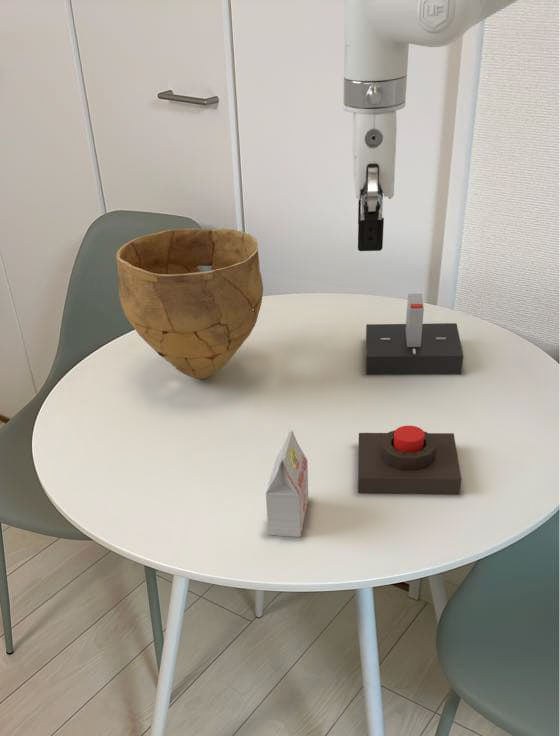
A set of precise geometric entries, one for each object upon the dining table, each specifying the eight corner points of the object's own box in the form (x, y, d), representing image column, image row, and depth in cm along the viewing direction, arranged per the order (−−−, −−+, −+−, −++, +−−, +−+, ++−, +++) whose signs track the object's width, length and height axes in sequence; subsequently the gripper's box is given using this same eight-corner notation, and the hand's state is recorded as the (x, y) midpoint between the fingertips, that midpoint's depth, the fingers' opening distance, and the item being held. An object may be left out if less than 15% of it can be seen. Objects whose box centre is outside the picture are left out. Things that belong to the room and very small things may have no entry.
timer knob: (405, 331, 117) (408, 292, 113) (418, 330, 116) (421, 291, 112) (407, 347, 113) (409, 307, 109) (420, 347, 112) (424, 307, 108)
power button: (422, 437, 93) (423, 425, 92) (424, 453, 90) (425, 441, 89) (393, 437, 93) (393, 425, 92) (393, 453, 91) (394, 441, 90)
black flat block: (454, 340, 120) (456, 322, 118) (461, 374, 112) (463, 354, 109) (365, 341, 122) (366, 323, 119) (365, 374, 113) (366, 355, 111)
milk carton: (268, 534, 86) (263, 462, 80) (278, 499, 91) (274, 428, 85) (300, 537, 86) (298, 464, 79) (308, 501, 91) (306, 430, 84)
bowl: (116, 368, 120) (91, 241, 107) (229, 335, 126) (218, 211, 113) (168, 426, 105) (146, 287, 93) (293, 385, 112) (288, 250, 99)
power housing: (451, 447, 97) (455, 420, 95) (459, 494, 90) (463, 466, 87) (358, 446, 99) (359, 420, 96) (357, 492, 91) (358, 465, 89)
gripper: (409, 107, 84) (400, 260, 95) (403, 78, 97) (395, 215, 108) (342, 110, 85) (340, 261, 96) (344, 81, 98) (343, 217, 109)
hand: (369, 237), depth 102 cm, fingers open, 9 cm apart
